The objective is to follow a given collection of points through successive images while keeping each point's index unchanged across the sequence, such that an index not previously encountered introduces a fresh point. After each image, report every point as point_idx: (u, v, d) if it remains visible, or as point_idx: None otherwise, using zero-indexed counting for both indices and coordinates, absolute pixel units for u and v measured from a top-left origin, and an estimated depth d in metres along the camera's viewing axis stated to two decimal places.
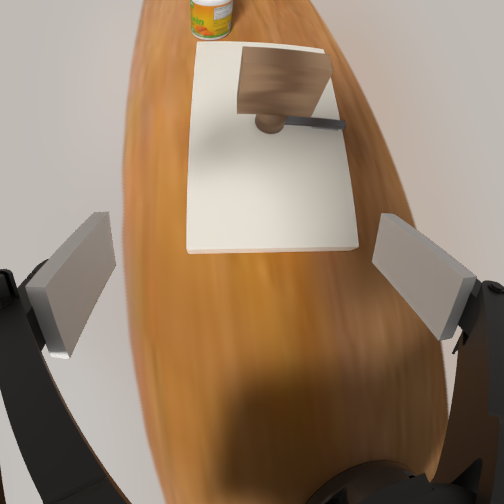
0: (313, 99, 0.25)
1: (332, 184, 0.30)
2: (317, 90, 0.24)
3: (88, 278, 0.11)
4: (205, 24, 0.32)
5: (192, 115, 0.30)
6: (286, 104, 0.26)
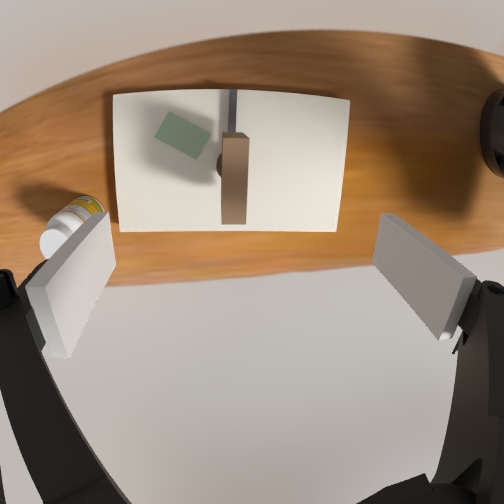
0: None
1: (295, 111, 0.32)
2: None
3: (88, 278, 0.11)
4: None
5: (220, 229, 0.37)
6: None
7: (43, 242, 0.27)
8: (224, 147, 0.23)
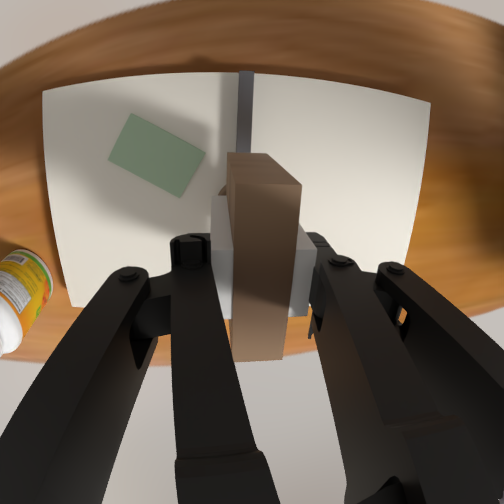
0: None
1: (352, 116, 0.18)
2: None
3: None
4: (39, 303, 0.20)
5: None
6: None
7: None
8: (238, 207, 0.09)
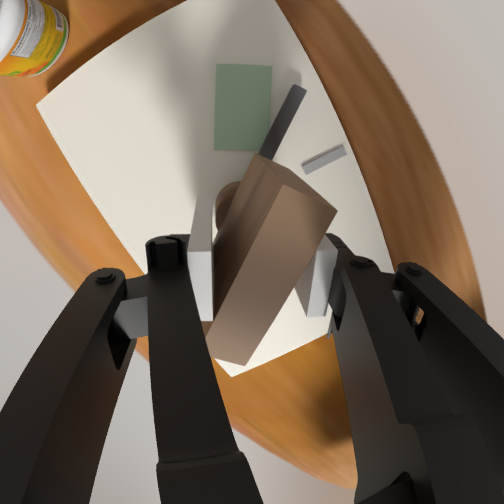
0: None
1: (358, 245, 0.22)
2: None
3: None
4: (23, 69, 0.13)
5: (129, 250, 0.20)
6: None
7: None
8: (275, 207, 0.10)
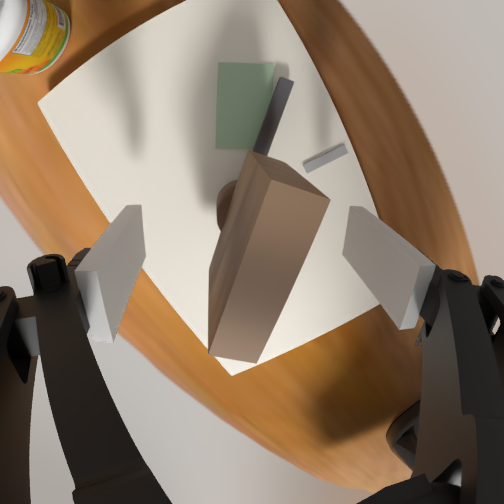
0: None
1: None
2: None
3: (127, 266, 0.12)
4: (24, 67, 0.13)
5: None
6: None
7: None
8: (266, 203, 0.09)
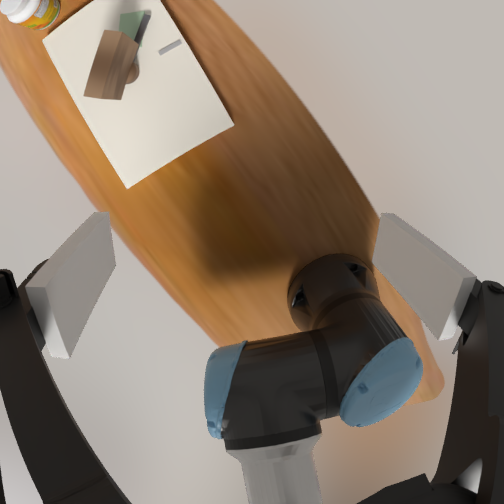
0: (131, 44, 0.26)
1: (195, 91, 0.35)
2: (127, 41, 0.25)
3: (88, 278, 0.11)
4: (37, 24, 0.26)
5: (76, 102, 0.33)
6: (127, 64, 0.28)
7: None
8: (102, 36, 0.22)
